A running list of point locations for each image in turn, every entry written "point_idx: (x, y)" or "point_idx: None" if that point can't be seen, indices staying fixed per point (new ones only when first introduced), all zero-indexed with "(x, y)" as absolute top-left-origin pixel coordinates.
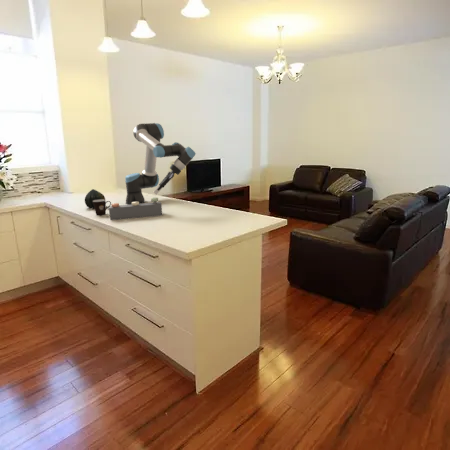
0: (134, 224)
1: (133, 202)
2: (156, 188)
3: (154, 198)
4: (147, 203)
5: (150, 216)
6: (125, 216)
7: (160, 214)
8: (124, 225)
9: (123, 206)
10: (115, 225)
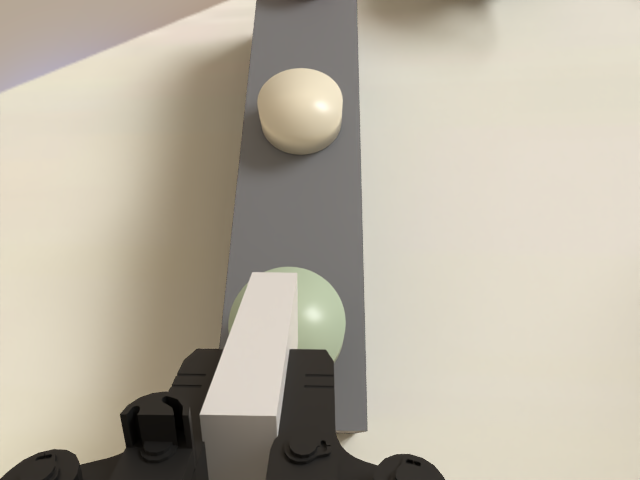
0: (40, 174)
1: (295, 84)
2: (240, 329)
3: None
4: (336, 243)
5: None
6: None
7: None
8: (58, 113)
9: (285, 29)
10: (98, 64)
